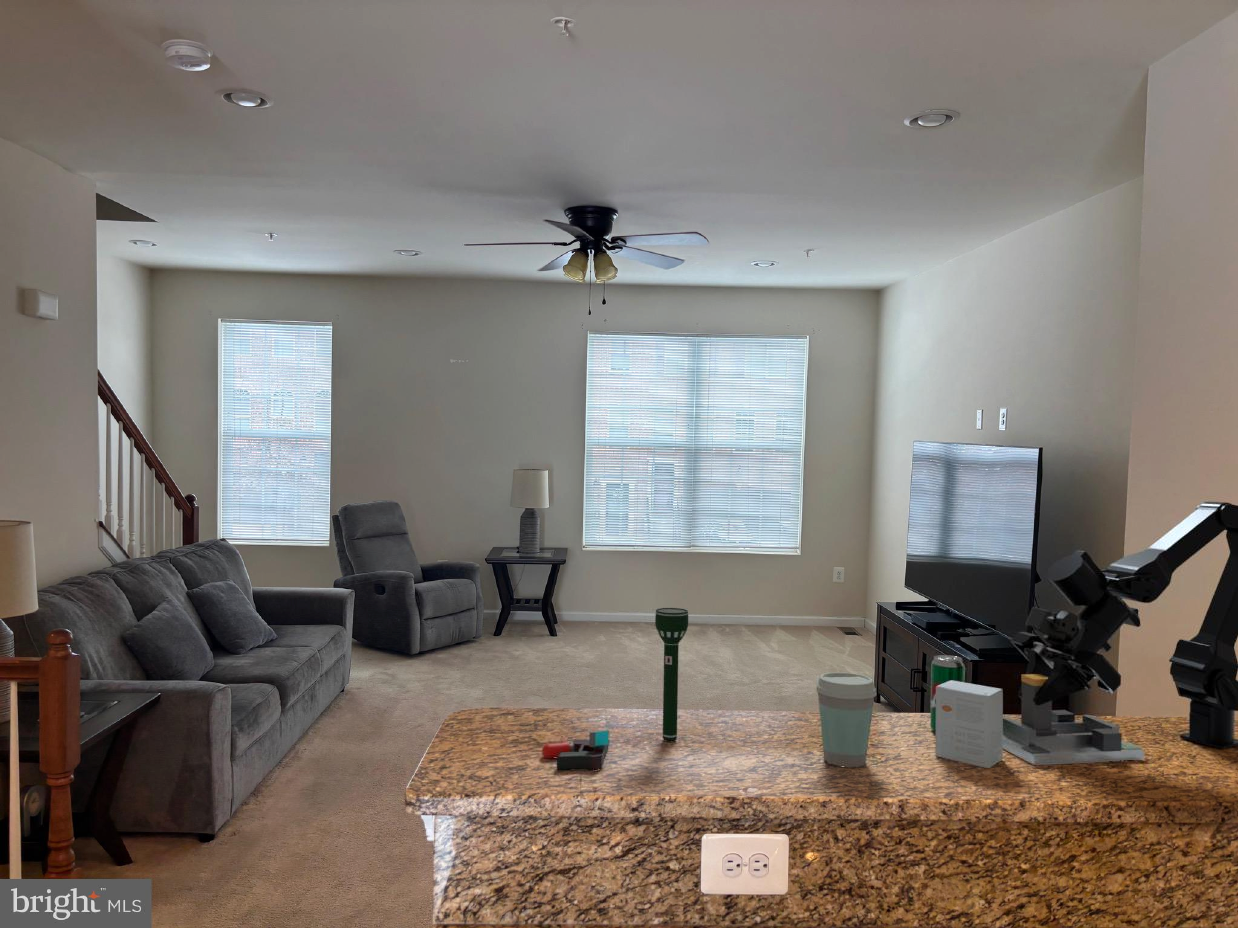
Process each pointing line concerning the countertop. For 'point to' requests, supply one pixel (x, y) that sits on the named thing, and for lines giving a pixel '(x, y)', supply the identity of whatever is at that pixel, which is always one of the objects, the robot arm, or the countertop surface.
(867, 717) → the coffee cup
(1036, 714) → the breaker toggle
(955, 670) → the soda can
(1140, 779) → the countertop surface
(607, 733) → the toy gun
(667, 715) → the flashlight
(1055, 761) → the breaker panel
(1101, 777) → the countertop surface
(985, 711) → the small box
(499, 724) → the countertop surface
